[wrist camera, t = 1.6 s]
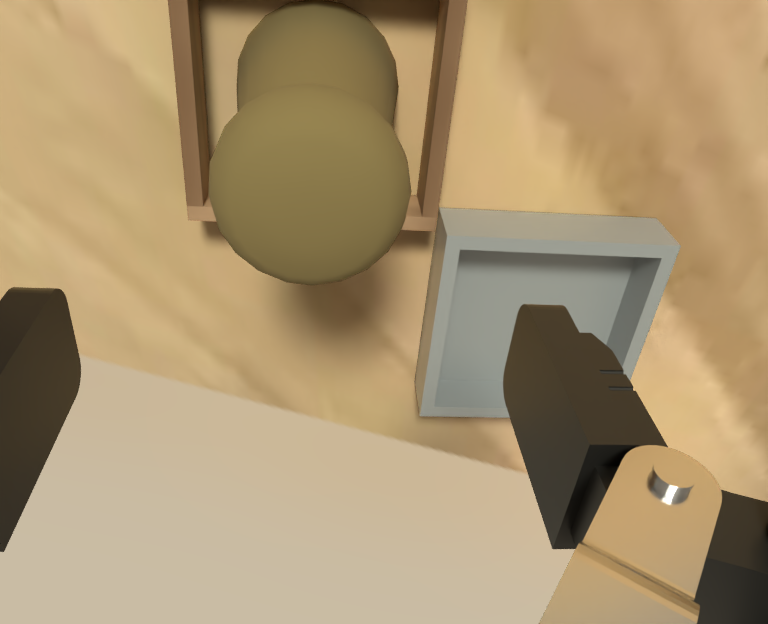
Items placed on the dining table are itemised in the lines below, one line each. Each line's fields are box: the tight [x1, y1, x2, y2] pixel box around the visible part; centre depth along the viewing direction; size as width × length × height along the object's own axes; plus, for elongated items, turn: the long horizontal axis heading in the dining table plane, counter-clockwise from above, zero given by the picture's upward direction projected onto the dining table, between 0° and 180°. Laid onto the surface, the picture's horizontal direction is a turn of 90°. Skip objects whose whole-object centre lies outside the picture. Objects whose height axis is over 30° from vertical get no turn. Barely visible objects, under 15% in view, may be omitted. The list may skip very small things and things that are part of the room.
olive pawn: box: [208, 0, 411, 285], centre depth 20 cm, size 6×6×11 cm
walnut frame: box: [168, 0, 468, 231], centre depth 24 cm, size 10×10×2 cm
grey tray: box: [415, 208, 681, 418], centre depth 30 cm, size 10×10×2 cm
